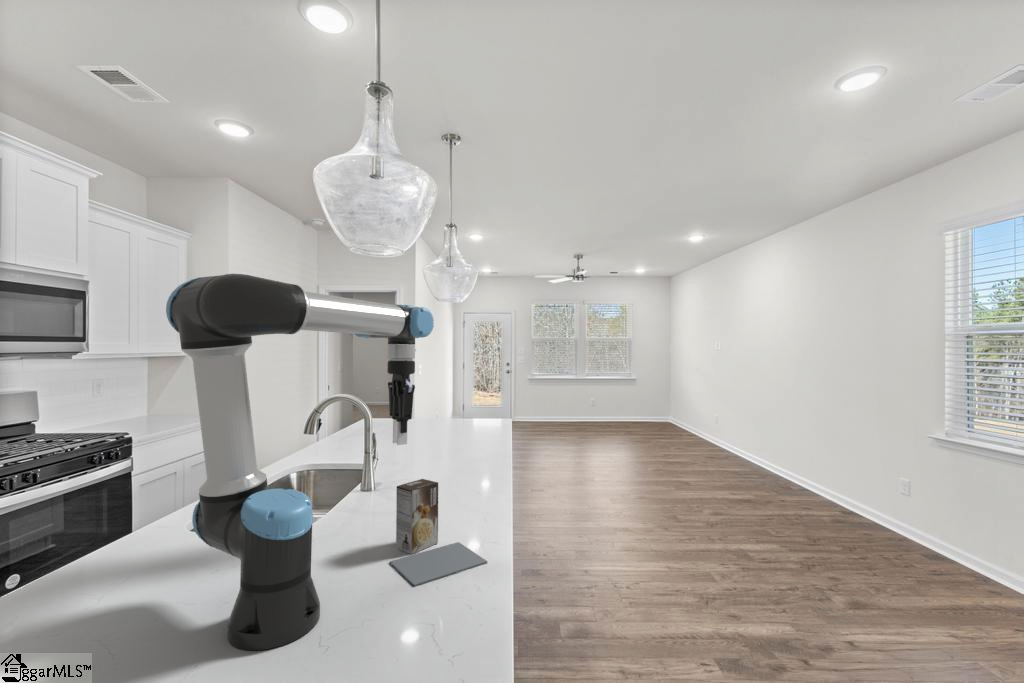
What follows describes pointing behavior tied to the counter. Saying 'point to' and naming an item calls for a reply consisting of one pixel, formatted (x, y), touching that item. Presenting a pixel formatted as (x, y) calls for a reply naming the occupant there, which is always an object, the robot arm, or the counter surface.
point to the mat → (437, 563)
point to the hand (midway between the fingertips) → (399, 443)
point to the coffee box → (417, 515)
